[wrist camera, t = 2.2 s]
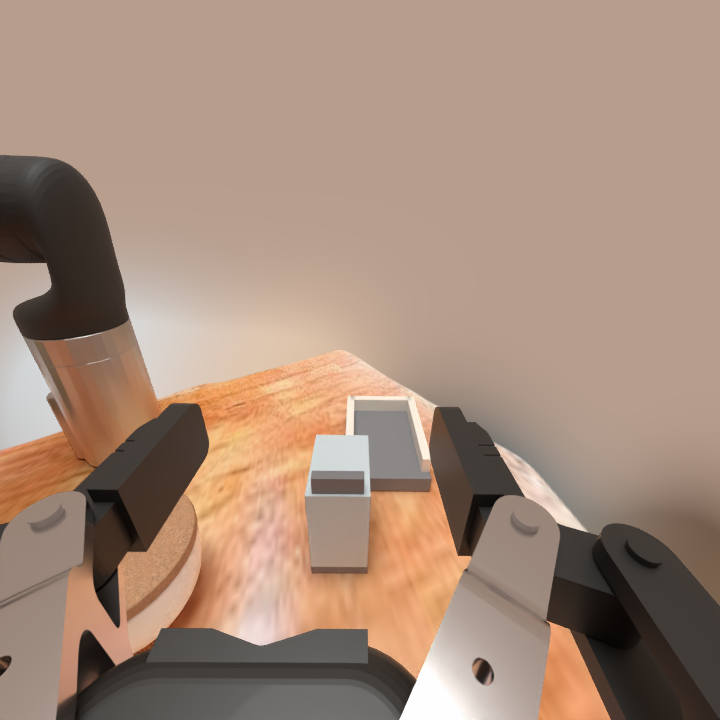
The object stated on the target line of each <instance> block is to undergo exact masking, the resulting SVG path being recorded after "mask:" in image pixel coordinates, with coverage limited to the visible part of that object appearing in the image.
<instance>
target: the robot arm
mask: <svg viewBox="0 0 720 720" xmlns="http://www.w3.org/2000/svg"><path fill="white" fill-rule="evenodd" d="M0 262H8V263H47V267H48V270H49V274H50V277H51V283H52V286H51V288H50V290H49V291H48V292H47V293H45V294H44V295H42V296H39V297H36V298H33V299H30V300H27V301H25V302H23V303H21V304H19V305H18V306H16V307H15V309H14V311H13V317H14V320H15V322H16V324H17V326H18V328H19V330H20V332H21V334H22V336H23V338H24V340H25V341H26V344H27V345H28V347H29V349H30V351H31V353H32V355H33V357H34V359H35V361H36V363H37V365H38V367H39V369H40V371H41V372H42V375H43V377H44V378H45V380H46V382H47V384H48V386H49V388H50V390H51V393H49V394H48V396H47V401H48V403H49V405H50V407H51V409H52V411H53V412H54V414H55V416H56V418H57V420H58V422H59V424H60V426H61V427H62V430H63V432H64V433H65V435H66V437H67V439H68V441H69V443H70V445H71V447H72V449H73V451H74V452H75V454H76V456H77V458H78V459H85V460H86V461H87V462H88V464H90V465H92V466H94V467H97V468H96V469H95V470H94V471H93V472H92V473H91V474H90V475H89V476H88V477H87V478H86V479H85V480H84V481H83V482H82V483H81V484H80V485H79V486H78V487H76V488H75V489H74V490H73V491H68V492H62V493H57V494H54V495H51V496H49V497H46V498H44V499H42V500H40V501H38V502H36V503H34V504H32V505H30V506H29V507H27V508H26V509H24V510H23V511H22V512H20V513H19V514H18V515H17V516H16V517H14V518H13V519H12V520H11V522H9V523H5V524H1V525H0V720H538V714H539V708H540V701H541V695H542V688H543V682H544V675H545V669H546V662H547V656H548V649H549V642H550V624H549V623H548V622H547V621H549V622H552V623H555V624H557V625H560V626H563V627H565V628H568V629H570V631H571V633H572V635H573V637H574V639H575V642H576V644H577V646H578V648H579V650H580V653H581V655H582V657H583V659H584V661H585V664H586V666H587V668H588V670H589V672H590V675H591V677H592V679H593V681H594V683H595V686H596V688H597V690H598V692H599V694H600V697H601V699H602V701H603V703H604V705H605V707H606V710H607V712H608V714H609V716H610V718H611V720H720V606H719V605H718V604H717V603H716V601H715V600H714V599H713V598H712V597H711V596H710V594H709V593H708V592H707V591H706V590H705V589H704V588H703V586H702V585H701V584H700V583H699V582H698V581H697V579H696V578H695V577H694V576H693V575H692V574H691V572H690V571H689V570H688V569H687V568H686V567H685V565H683V563H682V562H681V561H680V560H679V559H678V557H677V556H676V555H675V554H674V553H673V552H672V551H671V550H670V549H669V548H668V547H667V546H665V545H664V544H663V543H662V542H660V541H659V540H658V539H656V538H655V537H653V536H651V535H650V534H648V533H646V532H644V531H642V530H640V529H638V528H635V527H632V526H629V525H625V524H609V525H607V526H605V527H604V528H603V530H602V531H601V533H600V535H599V536H597V535H594V534H591V533H587V532H584V531H580V530H577V529H573V528H570V527H566V526H563V525H560V524H558V523H556V521H555V520H554V518H553V517H552V516H551V514H550V513H549V512H548V511H547V510H546V509H544V508H543V507H542V506H540V505H539V504H537V503H536V502H534V501H532V500H530V499H527V498H525V496H524V494H523V493H522V491H521V489H520V488H519V486H518V484H517V482H516V481H515V479H514V477H513V476H512V474H511V472H510V470H509V469H508V467H507V465H506V464H505V462H504V460H503V458H502V457H500V453H499V451H498V450H497V448H496V447H495V446H494V443H493V441H492V439H491V438H490V436H489V434H488V433H487V432H486V431H485V430H484V429H483V428H481V427H480V426H479V425H478V424H477V423H475V422H467V421H466V419H465V417H464V415H463V413H462V411H461V410H460V408H459V407H436V408H435V410H434V416H433V423H432V430H431V436H430V444H429V451H430V459H431V463H432V467H433V470H434V474H435V477H436V481H437V484H438V488H439V491H440V495H441V498H442V502H443V505H444V509H445V512H446V516H447V519H448V523H449V526H450V530H451V533H452V537H453V540H454V543H455V547H456V550H457V554H458V556H471V557H472V558H471V561H470V563H469V565H468V567H467V569H465V570H464V572H463V574H462V576H461V578H460V580H459V583H458V585H457V587H456V590H455V592H454V594H453V597H452V599H451V601H450V604H449V606H448V608H447V611H446V613H445V615H444V618H443V620H442V622H441V625H440V627H439V630H438V632H437V634H436V637H435V639H434V641H433V644H432V646H431V648H430V651H429V653H428V655H427V658H426V660H425V662H424V665H423V667H422V669H421V672H420V674H419V676H418V679H417V680H416V679H415V677H414V676H413V675H412V674H411V673H410V672H408V671H407V670H406V669H405V668H404V667H403V666H402V665H401V664H400V663H398V662H397V661H396V660H394V659H393V658H391V657H390V656H388V655H386V654H384V653H383V652H381V651H379V650H377V649H374V648H372V647H369V646H368V630H367V629H316V630H312V631H309V632H306V633H303V634H300V635H296V636H293V637H290V638H287V639H284V640H281V641H277V642H274V643H271V644H268V645H264V646H258V645H255V644H252V643H249V642H247V641H244V640H241V639H239V638H236V637H234V636H231V635H228V634H226V633H223V632H220V631H218V630H215V629H212V628H161V630H160V632H159V634H158V636H157V639H156V641H155V643H154V645H153V647H152V648H151V649H148V650H146V651H144V652H141V653H139V654H137V655H134V656H133V653H132V650H131V647H130V643H129V639H128V631H127V616H126V600H125V584H124V569H123V566H122V564H121V561H122V559H123V558H124V556H125V555H126V554H127V552H147V551H148V549H149V547H150V546H151V544H152V543H153V541H154V539H155V538H156V536H157V535H158V533H159V531H160V530H161V528H162V527H163V525H164V523H165V522H166V520H167V519H168V517H169V516H170V514H171V512H172V511H173V509H174V508H175V506H176V504H177V503H178V501H179V500H180V498H181V496H182V495H183V493H184V492H185V490H186V488H187V487H188V485H189V484H190V482H191V480H192V479H193V477H194V476H195V474H196V472H197V471H198V469H199V468H200V466H201V464H202V463H203V461H204V460H205V458H206V456H207V453H208V449H209V439H208V435H207V431H206V427H205V423H204V420H203V416H202V412H201V408H200V406H199V405H198V404H189V403H173V404H170V405H169V406H168V407H167V408H166V409H165V410H164V411H163V412H162V413H161V411H160V407H159V405H158V402H157V399H156V396H155V393H154V390H153V387H152V384H151V381H150V378H149V375H148V372H147V369H146V366H145V363H144V360H143V357H142V354H141V351H140V348H139V345H138V342H137V339H136V336H135V333H134V330H133V327H132V324H131V321H130V318H129V315H128V312H127V309H126V304H125V290H124V284H123V280H122V277H121V273H120V270H119V266H118V263H117V259H116V255H115V252H114V247H113V243H112V240H111V235H110V231H109V228H108V225H107V221H106V217H105V215H104V212H103V209H102V207H101V204H100V202H99V200H98V198H97V196H96V194H95V192H94V190H93V189H92V187H91V186H90V184H89V183H88V182H87V180H86V179H85V178H84V177H83V176H82V175H81V174H80V173H79V172H78V171H77V170H76V169H75V168H73V167H72V166H71V165H69V164H67V163H65V162H63V161H60V160H57V159H53V158H46V157H36V156H9V155H0Z"/></svg>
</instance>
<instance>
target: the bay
mask: <svg viewBox="0 0 720 720" xmlns="http://www.w3.org/2000/svg"><path fill="white" fill-rule="evenodd" d="M354 411H407V415H408V419H409V423H410V427H411V432H412V436H413V440H414V444H415V449H416V453H417V457H418V461H419V466H420V470H421V472H430V466H431V459H430V452H429V449H428V445H427V442H426V438H425V435H424V431H423V428H422V425H421V421H420V418H419V414H418V411H417V407H416V404H415V400H414V397H396V396H348V402H347V419H346V435H354Z"/></svg>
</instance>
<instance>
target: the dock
mask: <svg viewBox="0 0 720 720" xmlns="http://www.w3.org/2000/svg"><path fill="white" fill-rule="evenodd" d="M354 435H368V443H369V468H370V491H429V490H430V484H431V476H430V472H421V470H420V466H419V461H418V457H417V453H416V449H415V444H414V440H413V436H412V432H411V427H410V423H409V419H408V415H407V411H354Z"/></svg>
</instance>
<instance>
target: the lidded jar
mask: <svg viewBox="0 0 720 720" xmlns="http://www.w3.org/2000/svg"><path fill="white" fill-rule="evenodd" d="M201 560H202V544H201V535H200V532H199V528H198V524H197V516H196V513H195V509H194V506H193V504H192V503H191V501H190V499H189V498H188V497H187V496H186V495H185V494H183V495H182V496H181V498H180V500H179V501H178V503H177V504H176V506H175V508H174V509H173V511H172V512H171V514H170V516H169V517H168V519H167V520H166V522H165V523H164V525H163V527H162V528H161V530H160V531H159V533H158V535H157V536H156V538H155V539H154V541H153V543H152V544H151V546H150V547H149V549H148V551H147V552H127V554H126V555H125V556H124V558H123V559H122V561H121V564H122V566H123V569H124V584H125V600H126V616H127V631H128V639H129V643H130V647H131V650H132V653H133V654H134V653H136V652H138V651H139V650H141V649H142V648H144V647H146V646H147V645H148V644H150V643H151V642H152V641H154V640H155V639H156V638H157V636H158V634H159V632H160V630H161V628H168V627H169V626H170V625H171V623H172V622H173V621H174V620H175V619H176V618H177V616H178V615H179V613H180V612H181V611H182V609H183V608H184V606H185V605H186V603H187V601H188V600H189V598H190V596H191V594H192V592H193V590H194V587H195V585H196V582H197V579H198V575H199V572H200V567H201Z"/></svg>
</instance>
